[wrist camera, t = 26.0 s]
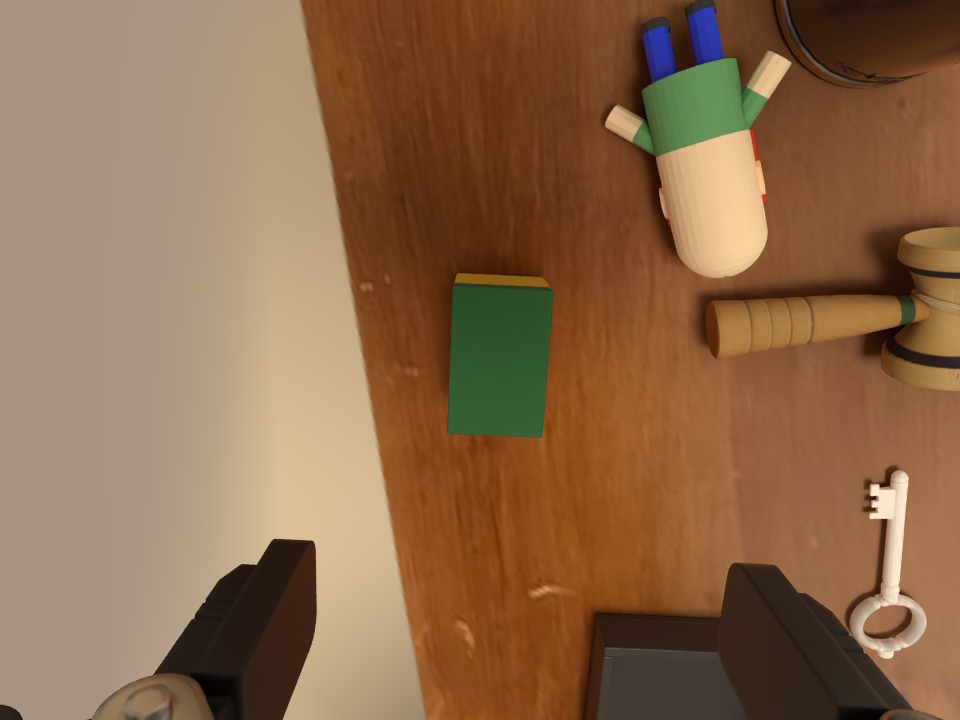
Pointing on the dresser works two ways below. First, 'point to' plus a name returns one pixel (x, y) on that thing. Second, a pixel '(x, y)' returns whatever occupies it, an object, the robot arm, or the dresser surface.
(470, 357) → the sponge
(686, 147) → the toy figurine
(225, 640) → the robot arm
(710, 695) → the pan
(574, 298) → the dresser surface
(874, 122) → the dresser surface
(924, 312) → the kendama
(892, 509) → the key
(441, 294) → the dresser surface
